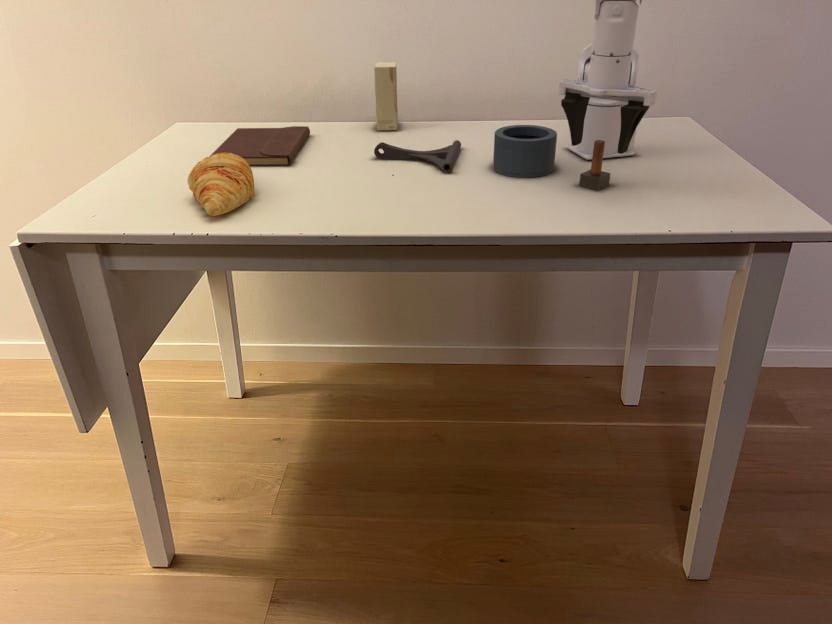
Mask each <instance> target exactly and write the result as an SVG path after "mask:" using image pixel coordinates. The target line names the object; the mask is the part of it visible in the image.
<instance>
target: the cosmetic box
mask: <svg viewBox="0 0 832 624" xmlns="http://www.w3.org/2000/svg"><path fill="white" fill-rule="evenodd" d="M373 67H374V69H373V71H374V73H373V75H374V93H375V97H374V98H375V118H376V120H375V121H376V131H398V127H399V121H398V120H399V117H398V116H399V115H398V112H399V111H398V80H397V79H398V75H397V62H395V61H379V62H378V61H377V62H375V63H374V66H373Z"/></svg>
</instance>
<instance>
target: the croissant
mask: <svg viewBox="0 0 832 624" xmlns="http://www.w3.org/2000/svg"><path fill="white" fill-rule="evenodd" d="M210 155H211V154H210ZM210 155H209V156H210ZM209 156H206V157H204V158H203V159H202V160H200V161H198V162H197V163H196V164H195V165H194V166H193V167H192V169H191V170H190V173H188V175H187V180H186V181H187V182H186V183H187V185H188V189H189V190H190V191H191V192H192V196H193V198H194V199H195V200H196V201H198V202H199V204H200V206H201V208H203V209H204V210H205V212H206V213H207V215H209V216H212V217H217V216H220V215H223V214H226V213H229V212H232V211H233V210H235V209H237V208H239V207H240V206H243V205H244V204H245V203H246V202H248V201H249V200H252V198H253V197H254V196H255V179H254V172H253V170H252V168H251V166H249V164H248V162H247V161H246V160H245V159H243V158H242V157H240V156H238V155H235V154H232V153H231V152H221V153H217V154H214V155H211V156H210V157H209Z"/></svg>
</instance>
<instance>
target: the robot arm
mask: <svg viewBox="0 0 832 624" xmlns="http://www.w3.org/2000/svg"><path fill="white" fill-rule="evenodd" d="M642 3H643V0H639V5H640V6H641V5H642ZM639 5H638V3H637V0H594V6H595V7H594V20H595V22H594V25H593V33H592V42H591V43H590V44H589V45H587V46H586V47H584V48H583V49H582V51H581V52H580V55H579V62H578V65H577V73H576V79H567V78H565V79H563V80H559V88H558V95H561V96H564V98H562V99H561V100H560V105H561V107H562V109H563V111H564V115H565V116H566V120H567V124H568V128H569V133H570V143H571V145H567V147H566V148H567V150H569V151H571V152H573V153H574V154H576V155H577V156H579V157H581V158H583V159H584V160H586V161H592V157H593V149H594V141H596V140H603V141H605V146H604V154H603V159H610V158H619V157H629V156H634V155H635V154H636V152H635V151H634V146H635V139H636V132H637V128H638V126H639V125H640V123H641V121H642V119H643V118H644V116H645V115H646V114H647V112H648V110H649V109H650V107H652V106H653V105H655V104H656V103H657V102H656V100H657V95H658V89H653V88H647V87H642V86H638V85H637V78H638V71H639V70H638V69H639V54H638V50H637V49H636V48H635V47H634V42H635V36H636V29H637V23H638V16H639Z"/></svg>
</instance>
